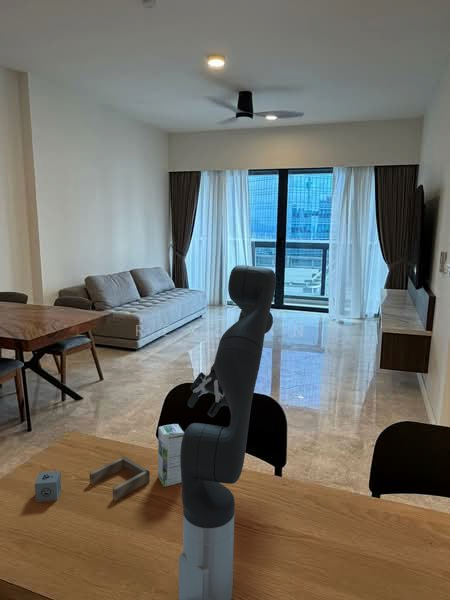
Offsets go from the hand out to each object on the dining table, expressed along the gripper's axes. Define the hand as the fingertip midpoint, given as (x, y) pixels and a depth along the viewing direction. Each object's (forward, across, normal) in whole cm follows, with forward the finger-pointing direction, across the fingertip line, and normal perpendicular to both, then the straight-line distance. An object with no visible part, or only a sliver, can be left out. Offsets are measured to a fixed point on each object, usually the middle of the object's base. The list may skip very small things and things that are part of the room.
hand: (199, 410), depth 120 cm
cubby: (+26, -8, -3) cm, 28 cm away
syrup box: (+19, 0, +5) cm, 20 cm away
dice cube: (+38, -16, -14) cm, 43 cm away
